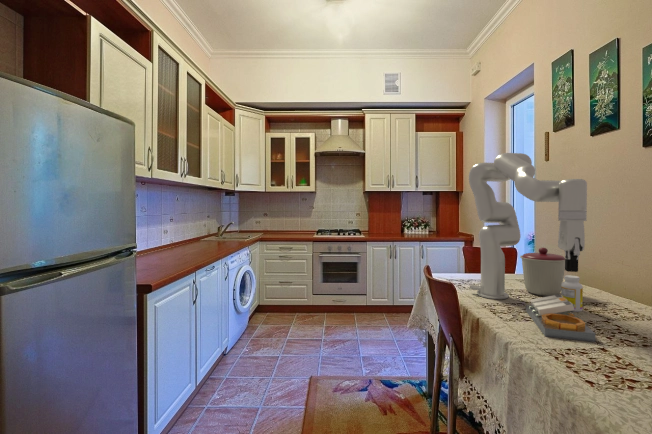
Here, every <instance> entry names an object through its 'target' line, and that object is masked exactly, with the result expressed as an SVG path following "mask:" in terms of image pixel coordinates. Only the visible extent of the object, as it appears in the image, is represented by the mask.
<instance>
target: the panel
mask: <svg viewBox="0 0 652 434" xmlns="http://www.w3.org/2000/svg"><path fill="white" fill-rule="evenodd" d="M525 312H526V313H527V314H528V316H529V317H530V318H531V319H532V321H533V322H534V323H535V326H536V327H537V328H538V329H539V330H540V332H542V334H543V336H544V337H548V338H557V339H564V340H565V339H566V340H572V341H573V340H575V341H583V342H593V343H596V333H595V332H594V331H593V330H592V329H591V328H590V327H589V326H588V325H586V322H585V321H584V320H582V319H581V318H579V317H577V316H576V315H575V314H574V313H572V311H565V312H559V313H549V314H544V315H540V314H539V313H538V311H537V310H536V309H535V307H533V306H532V304H525Z"/></svg>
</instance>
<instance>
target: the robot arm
mask: <svg viewBox="0 0 652 434" xmlns="http://www.w3.org/2000/svg"><path fill="white" fill-rule="evenodd" d="M532 162H533V161H532V158H530V156H529V155H528V154H526V153H520V152H516V153H515V152H504V153H500V154H498V155H497V156H496V157H495V158H494V161H493V162H479V163H475V164H474V165H473V166H472V167H471V168H470V170H469V172H468V173H469V174H468V184H469V187H470V189H471V192H472V194H473V198H474V202H475V203H474V204H475V206H476V211H477V217H478V219H479V221H480V222H481V223H487V225H484V226H482V227H481V228H480V229H479V231H478V241H479V246H480V283H479V284H477V285H476V284H475V285H474V284H470V285H469V290H473V291H476V294H477V296H479V297H482V298H485V299H491V300H492V299H493V300H505V299H508V298H509V294H508V293H507V292H506V291H505V288H506V287H505V286H506V285H505V282H506V281H505V279H506V277H505V276H506V272H505V271H506V268H505V267H506V258H505V256H506V255H505V253H504V252H503V249H502V248H501V247H512V246H516V245H518V244H519V243H520V240H521V229H520V226H519V222H518V217H517V213H516V210H515V207H514V206H513V205H512V204H511V203H508V202H507V201H506V202H505V201H497V198H496V196H495V195H496V194H495V192H494V189H493V188H492V186H490V184H489V183H488V182H492V183H493V182H498V183H499V182H501V183H503V182H508V181H509V180H511V181H513V182H514V187H515V190H516V191H517V192H518V193H519V194H521V195H522V196H523V197H525V198H527V199H529V200H530V201H532V202H535V203H536V202H537V203H539V202H541V203H544V202H546V203H549V202H550V203H555V202H556V203H558V209H557V210H558V211H557V213H558V218H557V219H558V221H559V225H558V226H559V227H558V241H557V247H558V248H559V249H560V250H563V251H564V258H565V272H569V273H570V272H571V273H572V272H573V273H578V272H579V258H580V255H581V252H584V251H585V245H586V244H585V242H586V240H585V237H586V235H585V234H586V233H585V224H584V222H586V221H587V218H588V217H587V215H588V214H587V210H588V209H587V207H588V206H587V205H588V201H587V200H588V182H587V181H586V180H585V179H582V178H571V179H570V178H569V179H563V180H545V179H544V180H543V179H542V180H540V179H536V178H535V177H534V176H535V175H536V168H535V166H534V165H533V163H532ZM495 223H496V224H495ZM497 223H498V224H497ZM489 224H490V225H489Z"/></svg>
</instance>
